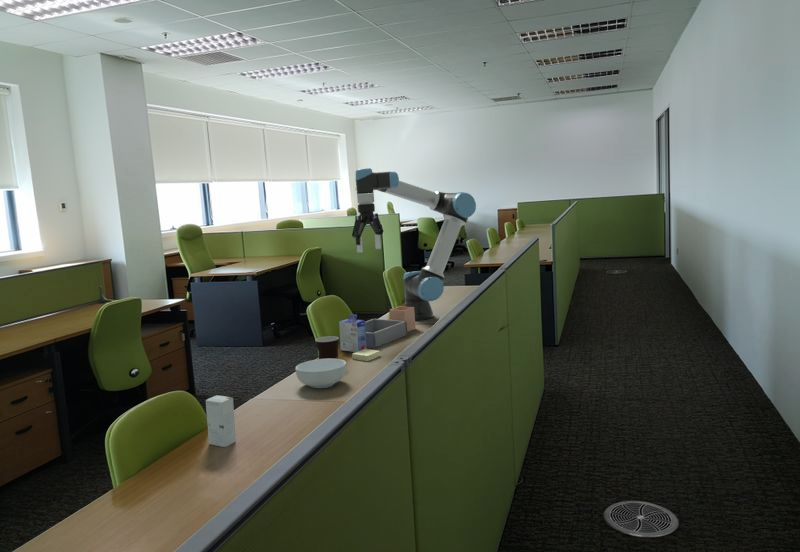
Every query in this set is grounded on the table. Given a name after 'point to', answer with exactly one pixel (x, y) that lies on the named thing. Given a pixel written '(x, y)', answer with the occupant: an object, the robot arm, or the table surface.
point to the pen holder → (404, 316)
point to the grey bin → (384, 331)
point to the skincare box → (220, 421)
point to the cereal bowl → (321, 372)
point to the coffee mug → (327, 347)
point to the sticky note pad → (366, 354)
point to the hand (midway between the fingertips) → (369, 250)
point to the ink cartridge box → (352, 334)
